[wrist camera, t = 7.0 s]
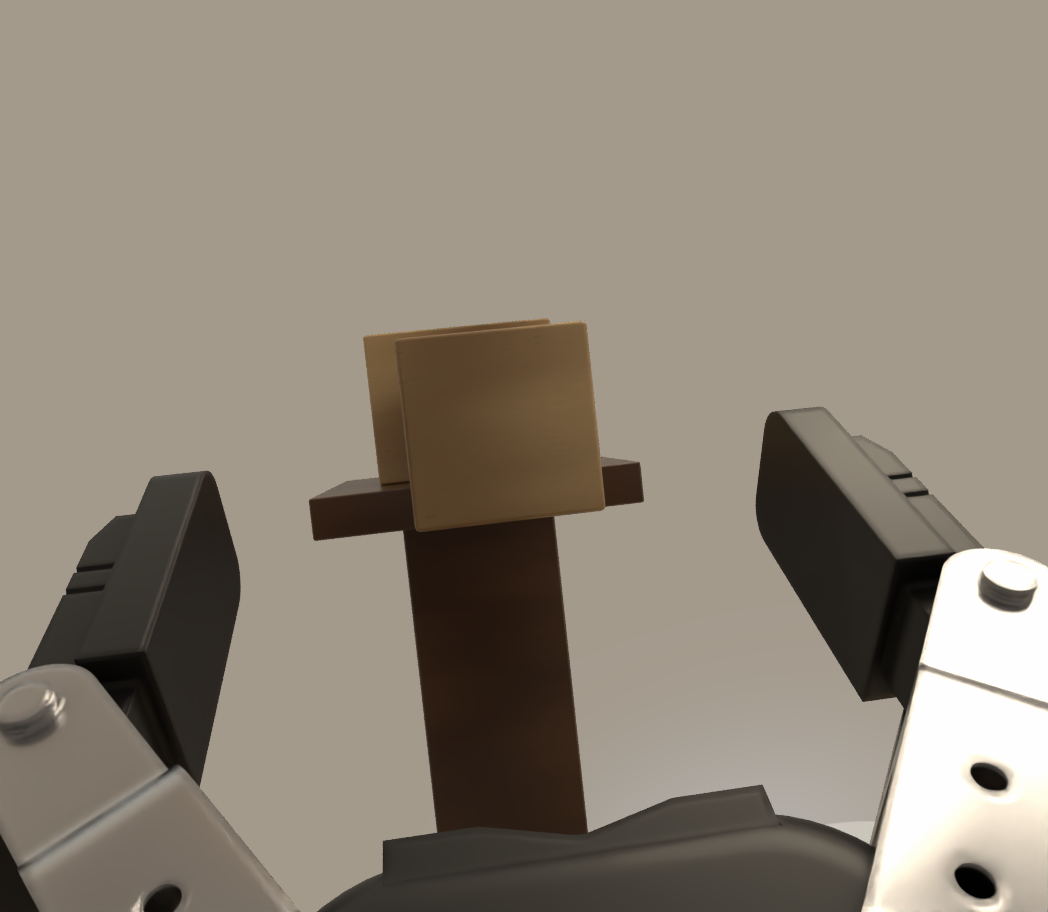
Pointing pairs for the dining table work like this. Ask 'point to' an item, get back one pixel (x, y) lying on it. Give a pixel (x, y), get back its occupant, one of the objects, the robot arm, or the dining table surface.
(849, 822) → the dining table surface
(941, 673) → the robot arm
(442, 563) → the brown pedestal stand
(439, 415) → the light wood mallet shape
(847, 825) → the dining table surface
